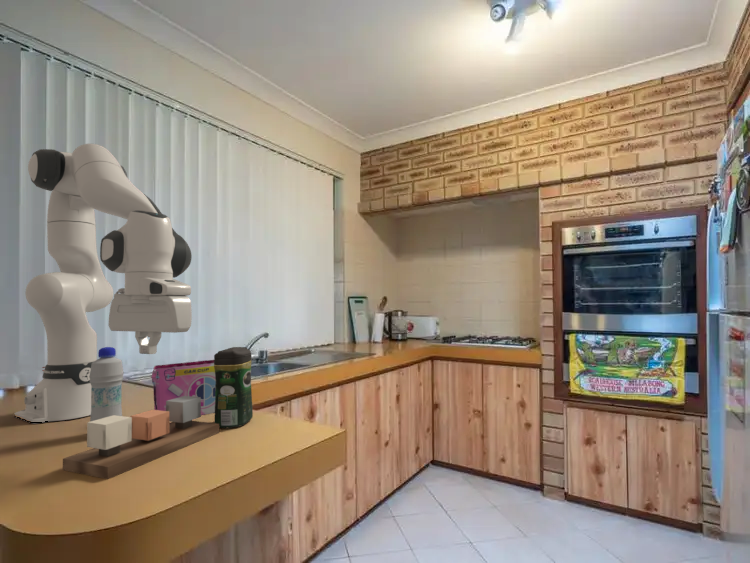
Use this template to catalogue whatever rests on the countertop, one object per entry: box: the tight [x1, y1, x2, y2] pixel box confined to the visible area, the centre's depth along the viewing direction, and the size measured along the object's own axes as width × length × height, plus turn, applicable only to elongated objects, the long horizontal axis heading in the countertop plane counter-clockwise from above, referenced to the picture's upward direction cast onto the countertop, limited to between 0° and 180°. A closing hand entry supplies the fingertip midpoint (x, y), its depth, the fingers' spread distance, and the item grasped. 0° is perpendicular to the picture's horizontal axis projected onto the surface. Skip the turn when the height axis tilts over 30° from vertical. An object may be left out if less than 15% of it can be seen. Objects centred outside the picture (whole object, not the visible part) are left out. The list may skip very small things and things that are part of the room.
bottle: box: [89, 346, 124, 422], centre depth 95 cm, size 7×7×20 cm
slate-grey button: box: [166, 396, 202, 423], centre depth 92 cm, size 5×5×4 cm
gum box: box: [150, 359, 216, 416], centre depth 113 cm, size 24×8×14 cm, turn 127°
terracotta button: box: [129, 409, 170, 441], centre depth 84 cm, size 5×5×4 cm
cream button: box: [86, 415, 132, 450], centre depth 76 cm, size 5×5×4 cm
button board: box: [62, 420, 220, 480], centre depth 84 cm, size 12×26×6 cm, turn 158°
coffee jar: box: [213, 346, 254, 429], centre depth 101 cm, size 10×8×19 cm
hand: (147, 353), depth 85 cm, fingers closed
